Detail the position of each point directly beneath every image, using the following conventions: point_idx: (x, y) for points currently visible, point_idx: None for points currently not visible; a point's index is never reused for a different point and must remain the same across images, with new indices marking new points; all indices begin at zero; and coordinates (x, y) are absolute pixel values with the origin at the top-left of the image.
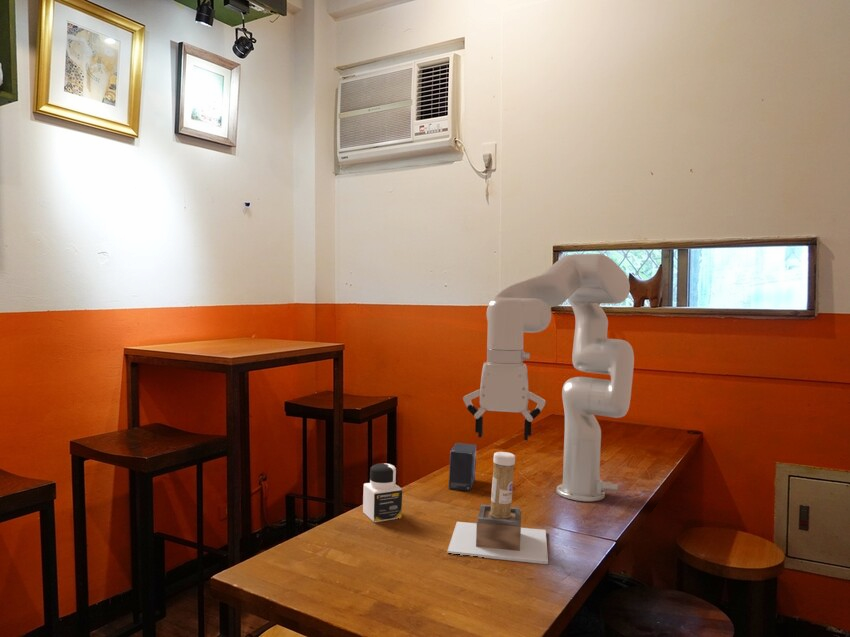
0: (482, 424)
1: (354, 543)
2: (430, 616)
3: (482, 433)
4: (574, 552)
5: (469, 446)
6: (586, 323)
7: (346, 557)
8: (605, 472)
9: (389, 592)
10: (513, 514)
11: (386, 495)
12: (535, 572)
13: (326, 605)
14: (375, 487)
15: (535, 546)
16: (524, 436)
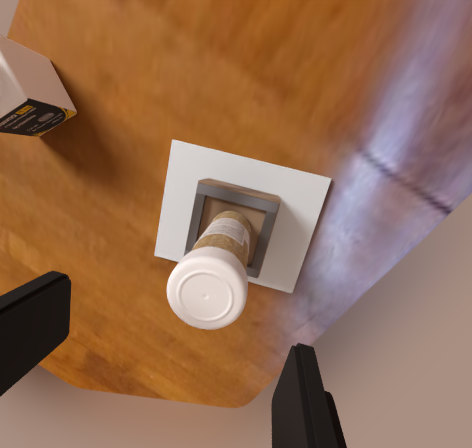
0: (9, 342)
1: (31, 216)
2: (139, 379)
3: (65, 290)
4: (349, 256)
5: None
6: None
7: (33, 257)
8: None
9: (97, 337)
10: (259, 219)
11: (7, 119)
12: (267, 310)
13: None
14: None
15: (289, 246)
16: (273, 418)
